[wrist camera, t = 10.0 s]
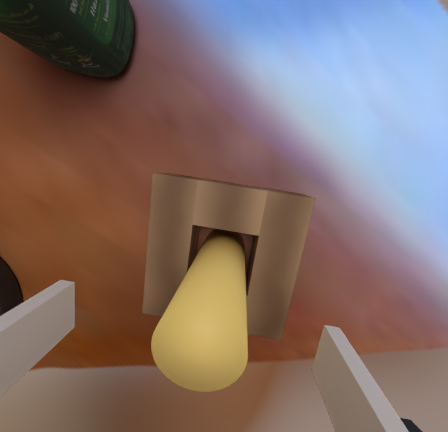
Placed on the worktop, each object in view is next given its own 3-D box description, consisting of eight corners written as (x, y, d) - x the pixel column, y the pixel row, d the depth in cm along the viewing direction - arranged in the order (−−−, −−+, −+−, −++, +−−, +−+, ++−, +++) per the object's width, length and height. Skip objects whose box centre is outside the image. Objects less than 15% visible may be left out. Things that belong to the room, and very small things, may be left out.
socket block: (157, 291, 25) (142, 313, 21) (168, 173, 22) (152, 172, 18) (274, 313, 24) (281, 340, 20) (302, 193, 21) (315, 198, 17)
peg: (202, 261, 24) (147, 381, 10) (207, 224, 23) (155, 299, 9) (240, 268, 23) (239, 400, 10) (247, 230, 22) (256, 318, 9)
